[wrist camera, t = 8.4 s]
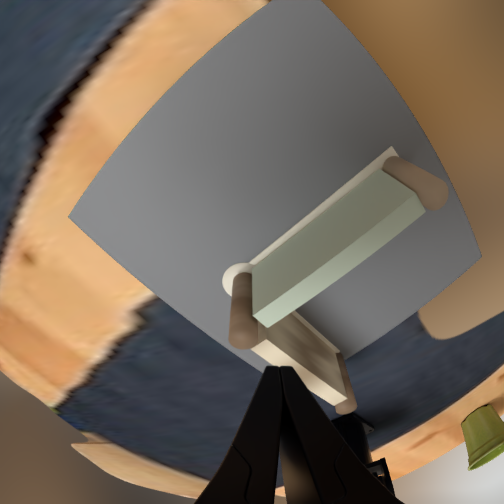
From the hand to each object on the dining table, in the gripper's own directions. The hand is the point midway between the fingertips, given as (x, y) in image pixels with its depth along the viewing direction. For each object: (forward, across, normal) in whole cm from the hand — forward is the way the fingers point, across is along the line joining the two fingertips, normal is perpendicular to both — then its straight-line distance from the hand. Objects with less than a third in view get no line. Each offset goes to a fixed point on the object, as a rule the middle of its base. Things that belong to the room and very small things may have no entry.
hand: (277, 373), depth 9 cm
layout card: (+11, -2, 0) cm, 12 cm away
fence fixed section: (+11, -3, +7) cm, 14 cm away
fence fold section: (+11, -4, -1) cm, 12 cm away
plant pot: (+13, -38, +30) cm, 50 cm away
